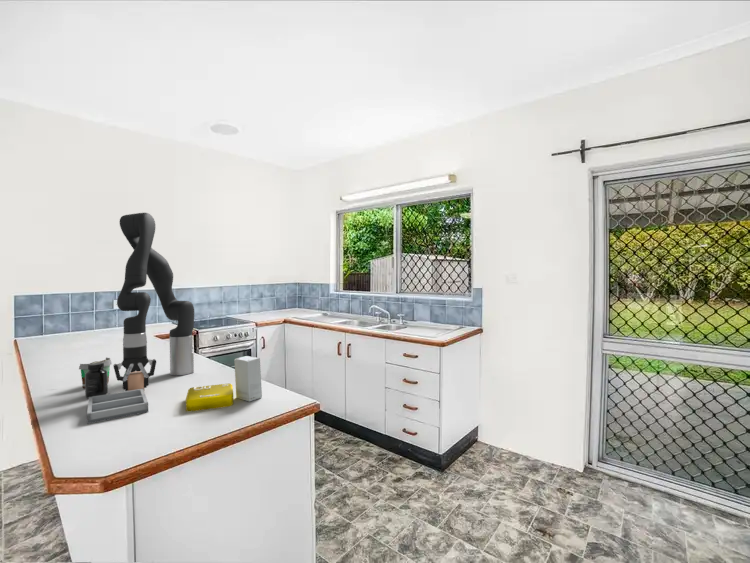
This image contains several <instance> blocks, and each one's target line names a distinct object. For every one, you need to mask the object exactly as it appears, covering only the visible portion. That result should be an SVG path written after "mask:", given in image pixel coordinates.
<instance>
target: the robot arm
mask: <svg viewBox="0 0 750 563" xmlns="http://www.w3.org/2000/svg"><path fill="white" fill-rule="evenodd" d="M119 227H120V230H121V232H122V234H123V236H124V237H125V238H126V241H128V243H129V244H130V246H131V248H132V249H133V252H132V253H131V254H130V256H129V257H128V259H127V261H126V265H125V269H124V270H125V272H124V282H123V285H122V288H121V289H120V293H119V294H118V296H117V299H116V305H117V308H118V309H119V310H120V311H123V312H134V311H135V312H137V311H138V314H136V315H134V316H129V317H127V318H126V317H125V319H123V338H122V353H123V354H122V355H123V357H122V358H123V359H122V361H121V362H119V363H114V364H112V365H113V369H114V373H115V378H116V380H117V381H118V382H119V381H121V382H122V389H123V390H124V391H128V386H127V378H128V376H129V374H130V372H136V371H142V373H143V374H144V389H146V388H147V387H148V386H149V379H150V377H151V376H154V374H155V370H156V365H157V360H156V359H155V358H154V359H149V358H148V350H147V349H148V347H147V346H148V344H147V343H148V340H147V333H146V332H147V331H146V330H147V329H146V328H147V326H146V322H147V317H148V316H147V315H148V311H149V308H150V306H151V302H152V299H151V296H150V294H149V293H148V292H145V291H139V292H138V291H135V292H133V290H135V289H138V288H142V287H145V286H147V285H146V284H147V277H148V279H149V281H150V282H151V284H152V286H153V288H154V290H155V292H156V296H157V297H158V300H159V301H160V305H161V307H162V310H163V312H164V315H165V317H166V318H167V319H169V320H170V321H174V322H177V326H176V327H174V328H172V329H170V330H169V375H170V376H185V375H189V374H193V373H195V369H194V368H195V366H194V365H195V363H194V361H195V360H194V358H195V357H194V355H195V354H194V352H193V331H194V328H195V307H194V304H193V303H192V302H191V301H189V300H178V299H177V298H176V296H175V295H174V292H173V282H174V272H173V270H172V268H171V266H170V264H169V262H168V260H167V259H166V258H165V257H164V256H163V255H162V254H160V252H158V251H156V249H153V248H152V245H153V241H154V237H155V234H156V221H155V218H154V217H153V216H152V215H151V213H148V212H137V213H129V214H125V215H122V216H121V217H120V218H119ZM147 364H149V365H150V370H149V372H147V371H146V369H145V367H146V366H147ZM122 367H123V368H124V369H125V371H124V374H123V376H121V373H120V370H121V369H122Z"/></svg>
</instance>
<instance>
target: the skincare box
mask: <svg viewBox="0 0 750 563" xmlns="http://www.w3.org/2000/svg"><path fill="white" fill-rule="evenodd" d="M233 364H234V380H235V398H236V399H240V400H243V401H246V402H253V401H255V400H258V399H261V398H263V397H262V396H263V391H262V388H263V387H262V375H261V374H262V373H261V372H262V371H261V358H260V357H255V356H249V355H246V356H240V357H237V358H235V359H234V363H233Z"/></svg>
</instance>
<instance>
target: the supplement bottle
mask: <svg viewBox="0 0 750 563" xmlns="http://www.w3.org/2000/svg"><path fill="white" fill-rule="evenodd" d="M91 363H92V362H91ZM88 364H89V365H88V370H89V371H88V372H87V373H86V374H85V388H84V391H85V392H84V394H85V397H86V398H87V399H89V397H93V396H99V395H106V394H109V393H108V392H109V391H108V390H109V385H108V384H109V382H108V378H107V371H106V370H105V369H103V368H104V363H102V362H99V363H92V364H90V363H88Z"/></svg>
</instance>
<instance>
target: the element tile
mask: <svg viewBox="0 0 750 563" xmlns="http://www.w3.org/2000/svg"><path fill="white" fill-rule="evenodd" d="M233 386H234V385H233V384H232V383H231V382H230V383H221V384H212V385H203V386H202V385H201V386H200V385H199V386H195V387H190V388H188V390H187V394H186V397H185V411H186V412H197V411H198V412H199V411H205V410H212V409H213V410H214V409H219V408H221V409H222V408H226V407H227V408H228V407H233V405H234V388H233Z"/></svg>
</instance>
